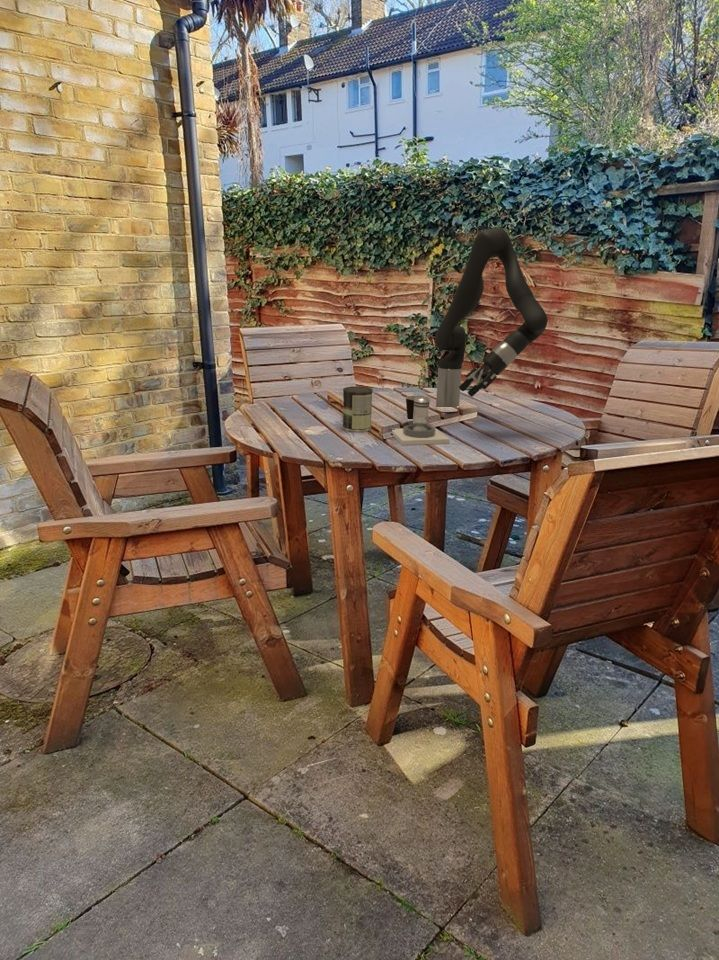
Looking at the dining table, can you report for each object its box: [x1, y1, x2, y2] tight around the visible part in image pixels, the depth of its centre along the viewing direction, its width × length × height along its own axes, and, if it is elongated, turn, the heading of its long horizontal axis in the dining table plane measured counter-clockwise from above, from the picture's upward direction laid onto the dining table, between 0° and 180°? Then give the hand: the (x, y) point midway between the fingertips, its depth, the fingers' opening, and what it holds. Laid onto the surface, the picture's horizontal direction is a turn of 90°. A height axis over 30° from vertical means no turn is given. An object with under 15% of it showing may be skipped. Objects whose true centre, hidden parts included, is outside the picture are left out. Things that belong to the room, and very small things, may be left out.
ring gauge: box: [392, 424, 451, 446], centre depth 228 cm, size 16×16×4 cm
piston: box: [412, 396, 431, 431], centre depth 226 cm, size 5×5×12 cm
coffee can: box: [342, 386, 374, 433], centre depth 237 cm, size 10×10×14 cm
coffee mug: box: [405, 395, 431, 419], centre depth 246 cm, size 12×9×10 cm
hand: (464, 392), depth 228 cm, fingers open, 8 cm apart
